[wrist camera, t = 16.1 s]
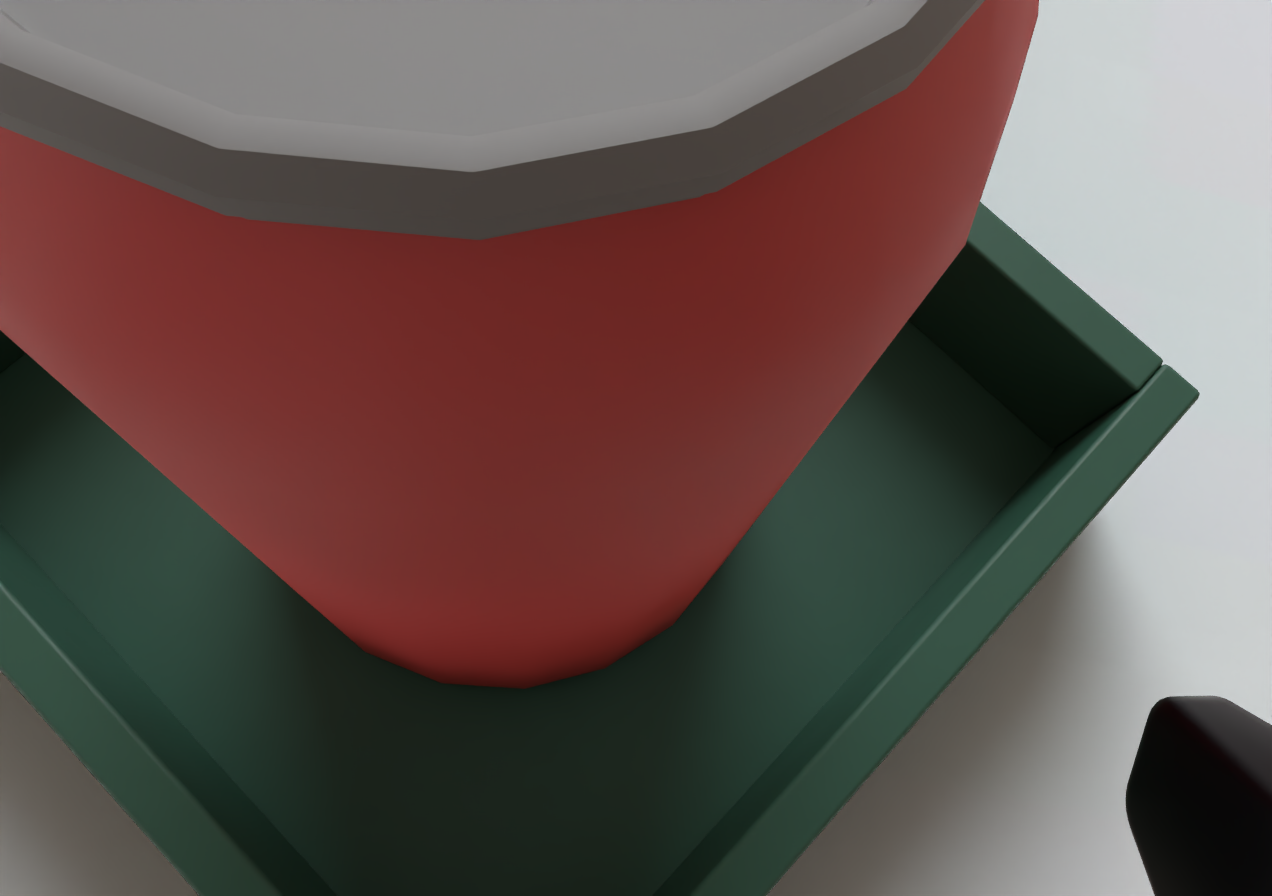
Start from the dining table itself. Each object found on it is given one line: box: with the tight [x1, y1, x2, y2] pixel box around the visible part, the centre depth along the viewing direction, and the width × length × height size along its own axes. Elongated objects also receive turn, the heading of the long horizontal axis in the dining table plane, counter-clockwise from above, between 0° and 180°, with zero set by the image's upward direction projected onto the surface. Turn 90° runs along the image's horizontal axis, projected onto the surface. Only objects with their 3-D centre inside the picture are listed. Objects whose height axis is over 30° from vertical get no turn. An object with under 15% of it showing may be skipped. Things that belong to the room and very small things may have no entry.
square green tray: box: [0, 202, 1199, 896], centre depth 15 cm, size 12×12×3 cm
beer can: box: [0, 0, 1039, 689], centre depth 10 cm, size 7×7×12 cm
